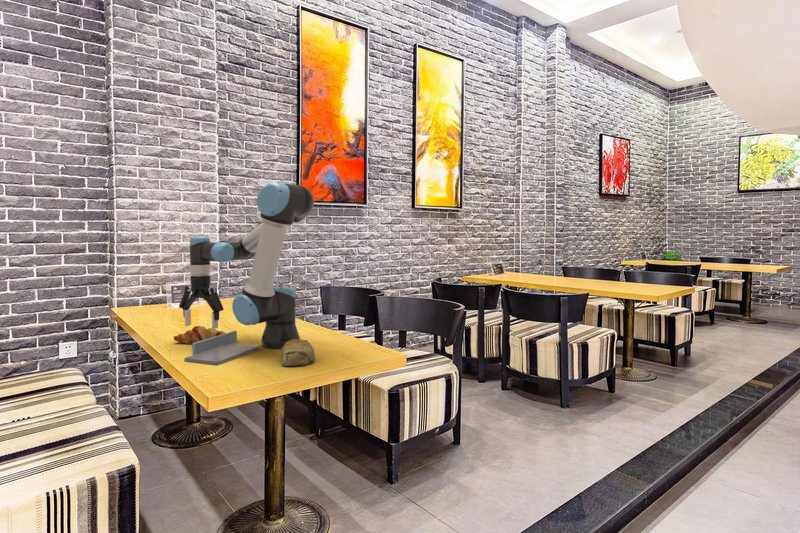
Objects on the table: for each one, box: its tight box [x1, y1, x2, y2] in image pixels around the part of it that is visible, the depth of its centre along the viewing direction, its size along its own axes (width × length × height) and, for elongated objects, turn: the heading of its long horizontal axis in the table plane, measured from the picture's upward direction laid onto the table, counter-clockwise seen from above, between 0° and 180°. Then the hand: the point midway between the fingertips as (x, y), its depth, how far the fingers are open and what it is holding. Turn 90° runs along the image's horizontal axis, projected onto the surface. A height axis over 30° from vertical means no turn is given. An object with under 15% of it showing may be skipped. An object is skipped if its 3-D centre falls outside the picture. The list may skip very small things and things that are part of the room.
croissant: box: [173, 325, 226, 345], centre depth 202 cm, size 21×10×8 cm, turn 114°
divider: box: [191, 330, 238, 355], centre depth 193 cm, size 1×24×4 cm, turn 161°
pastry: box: [280, 338, 316, 367], centre depth 172 cm, size 14×12×8 cm
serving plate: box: [183, 342, 261, 366], centre depth 181 cm, size 14×24×1 cm, turn 161°
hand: (201, 326), depth 201 cm, fingers open, 13 cm apart
